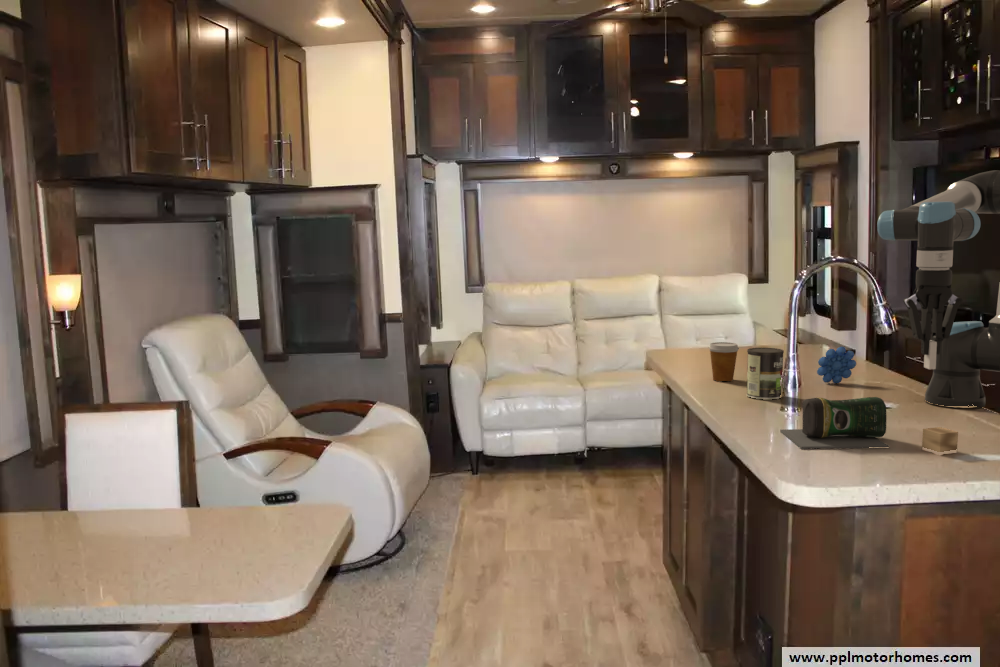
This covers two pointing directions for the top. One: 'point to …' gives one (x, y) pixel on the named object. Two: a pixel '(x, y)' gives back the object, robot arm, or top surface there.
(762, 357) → the coffee can
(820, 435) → the coffee jar
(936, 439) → the oak block
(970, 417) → the top surface
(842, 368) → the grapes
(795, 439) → the mat
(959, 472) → the top surface
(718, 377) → the disposable coffee cup
